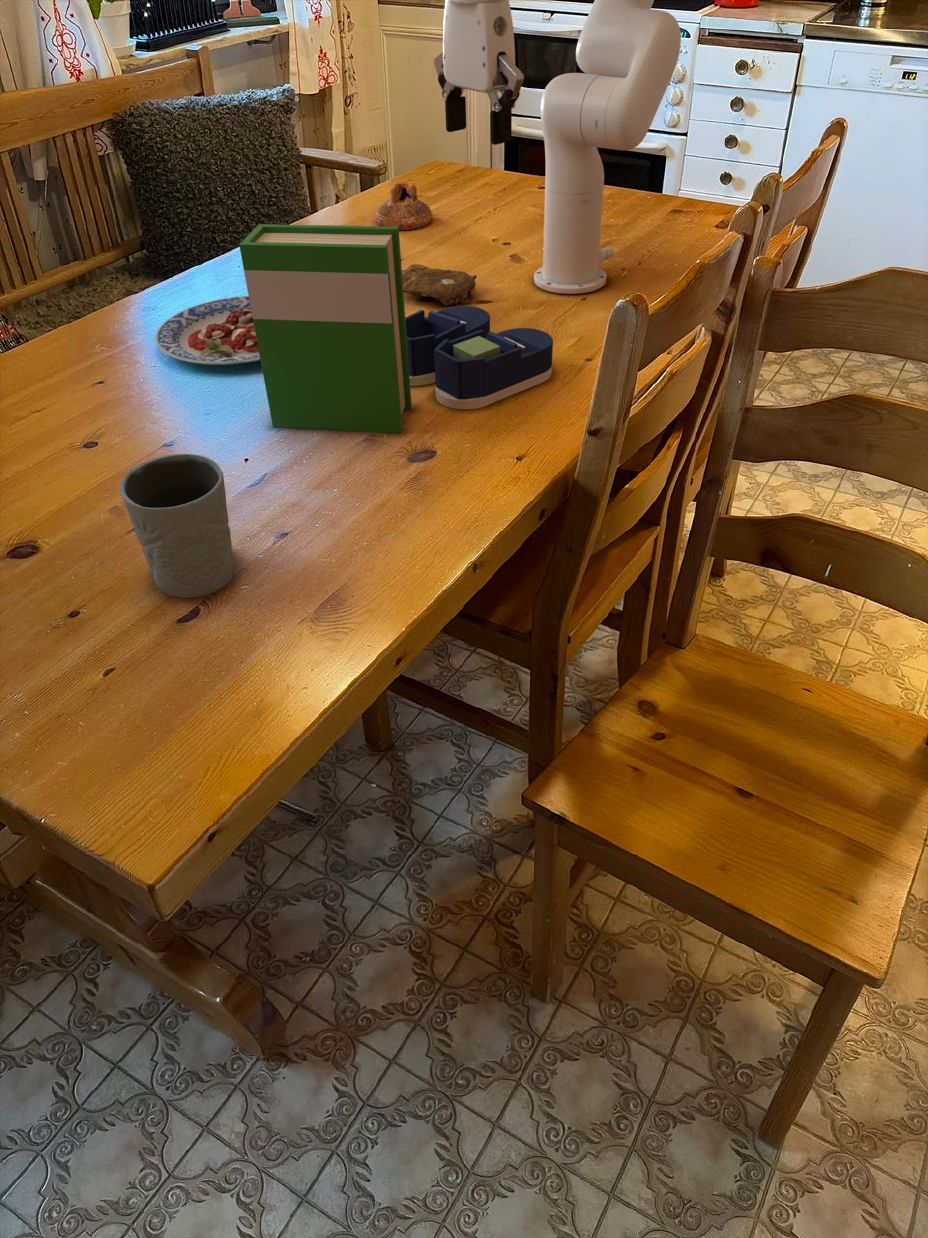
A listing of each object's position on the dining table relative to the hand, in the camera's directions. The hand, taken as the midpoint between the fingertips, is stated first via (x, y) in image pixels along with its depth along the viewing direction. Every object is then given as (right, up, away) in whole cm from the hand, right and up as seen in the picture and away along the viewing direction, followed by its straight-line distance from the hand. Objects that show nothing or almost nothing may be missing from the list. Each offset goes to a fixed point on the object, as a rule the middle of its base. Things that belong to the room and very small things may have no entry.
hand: (478, 136), depth 126 cm
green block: (0, -33, +3) cm, 33 cm away
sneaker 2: (+2, -33, +5) cm, 33 cm away
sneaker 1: (-6, -28, +12) cm, 30 cm away
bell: (-14, +15, +62) cm, 65 cm away
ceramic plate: (-37, -22, +19) cm, 48 cm away
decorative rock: (-8, -11, +32) cm, 34 cm away
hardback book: (-18, -39, -1) cm, 43 cm away
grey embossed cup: (-31, -62, -27) cm, 74 cm away
